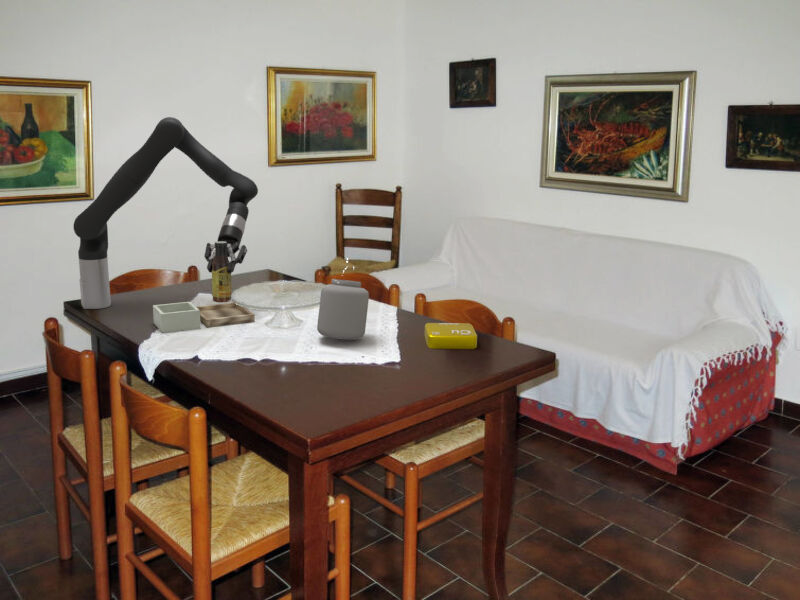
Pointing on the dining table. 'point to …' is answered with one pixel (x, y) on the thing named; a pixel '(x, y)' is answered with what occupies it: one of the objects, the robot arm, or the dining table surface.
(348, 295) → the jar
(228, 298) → the sauce bottle
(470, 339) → the element tile
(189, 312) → the box
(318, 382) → the dining table surface
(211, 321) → the tray
